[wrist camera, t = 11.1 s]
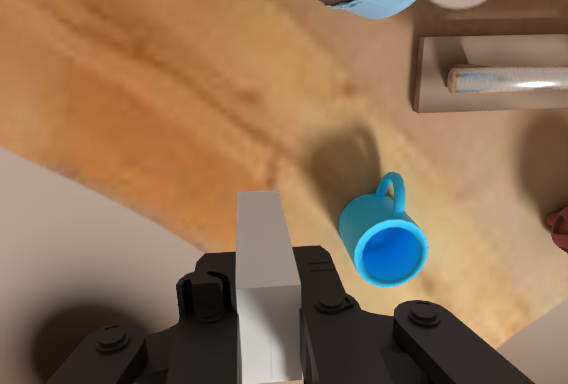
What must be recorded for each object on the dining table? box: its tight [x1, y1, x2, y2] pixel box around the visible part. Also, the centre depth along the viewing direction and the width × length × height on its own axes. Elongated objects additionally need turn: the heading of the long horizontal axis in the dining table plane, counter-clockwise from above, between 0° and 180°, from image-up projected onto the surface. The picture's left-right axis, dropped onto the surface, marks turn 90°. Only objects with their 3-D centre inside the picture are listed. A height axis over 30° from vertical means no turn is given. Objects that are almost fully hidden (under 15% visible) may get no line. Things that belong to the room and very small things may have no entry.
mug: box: [339, 172, 428, 287], centre depth 51 cm, size 12×8×8 cm
